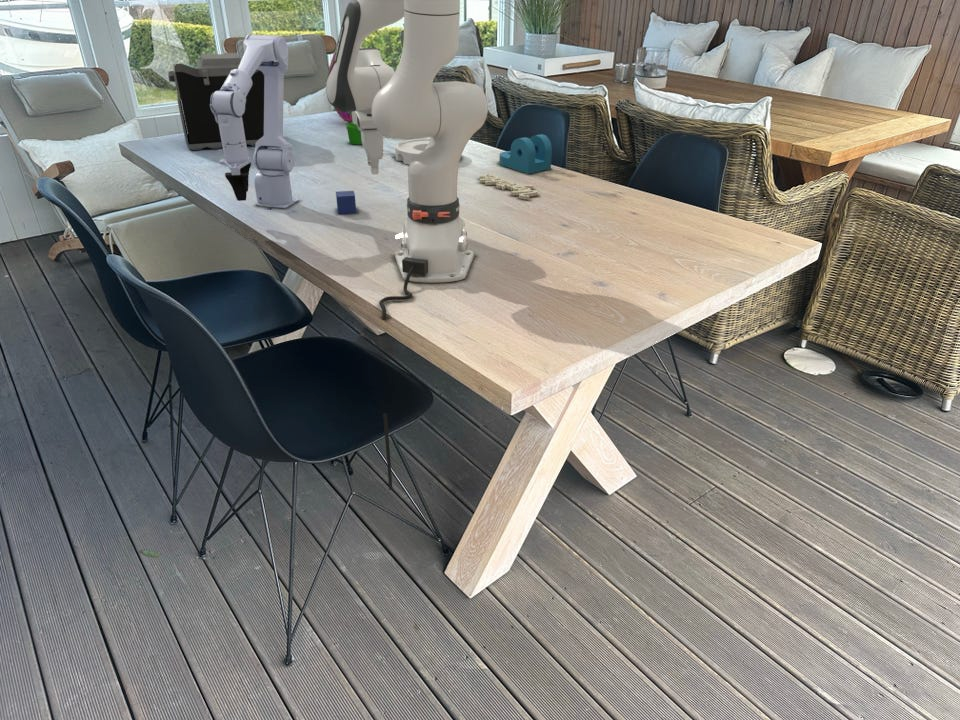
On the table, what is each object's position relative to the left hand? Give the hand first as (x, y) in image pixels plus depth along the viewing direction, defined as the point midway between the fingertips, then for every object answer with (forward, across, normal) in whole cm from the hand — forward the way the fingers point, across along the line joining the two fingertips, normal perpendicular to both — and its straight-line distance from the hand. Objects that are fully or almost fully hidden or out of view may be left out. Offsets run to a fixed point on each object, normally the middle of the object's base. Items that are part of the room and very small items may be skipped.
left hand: (242, 195), depth 178 cm
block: (+8, -7, +26) cm, 28 cm away
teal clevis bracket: (+8, -44, +88) cm, 99 cm away
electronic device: (+8, -98, -11) cm, 99 cm away
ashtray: (+8, -61, +58) cm, 84 cm away
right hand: (-4, -4, +34) cm, 35 cm away
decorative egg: (+8, -124, +37) cm, 130 cm away
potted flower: (+8, -87, +35) cm, 95 cm away
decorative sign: (+8, -20, +77) cm, 80 cm away
